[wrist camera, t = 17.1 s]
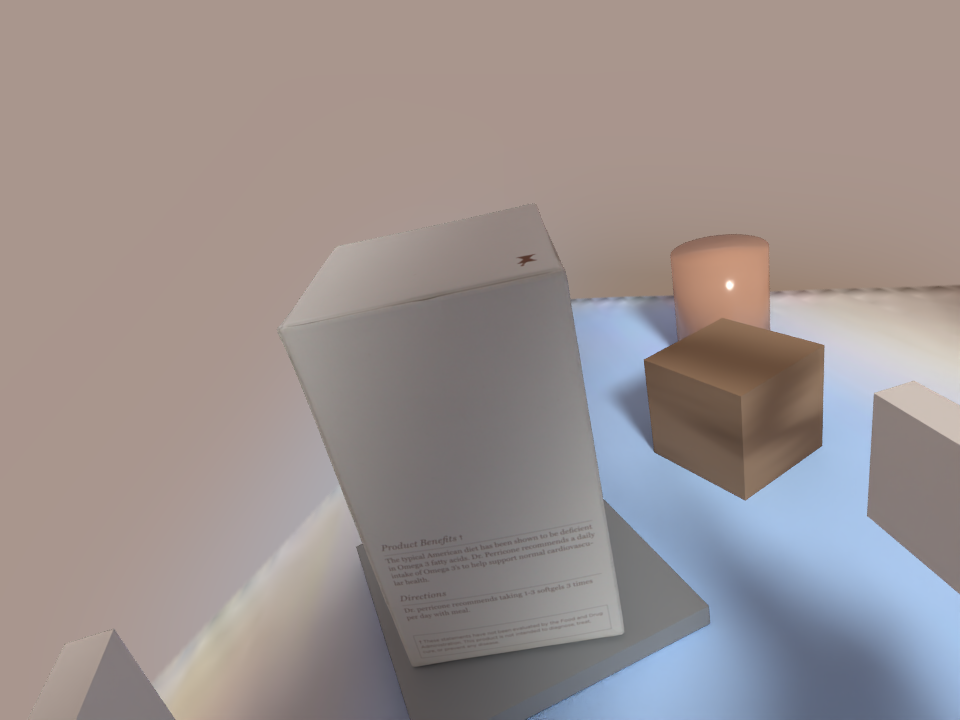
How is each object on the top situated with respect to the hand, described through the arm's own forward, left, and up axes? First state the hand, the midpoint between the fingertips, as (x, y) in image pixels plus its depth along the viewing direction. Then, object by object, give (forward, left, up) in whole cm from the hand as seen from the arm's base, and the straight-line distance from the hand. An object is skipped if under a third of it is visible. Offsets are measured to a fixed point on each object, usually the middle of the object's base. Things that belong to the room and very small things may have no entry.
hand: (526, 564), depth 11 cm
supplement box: (-2, -10, -10) cm, 14 cm away
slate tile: (-2, -10, -10) cm, 14 cm away
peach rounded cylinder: (-20, -20, -10) cm, 30 cm away
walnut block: (-14, -12, -11) cm, 21 cm away
